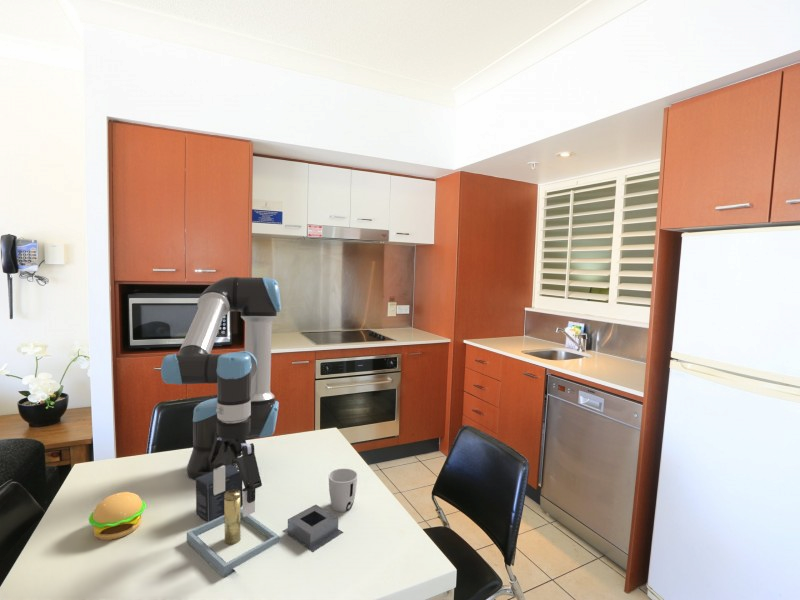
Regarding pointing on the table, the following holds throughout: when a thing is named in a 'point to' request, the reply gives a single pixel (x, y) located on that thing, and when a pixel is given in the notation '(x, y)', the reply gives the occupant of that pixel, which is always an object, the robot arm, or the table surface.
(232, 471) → the box
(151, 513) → the table surface
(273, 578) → the table surface
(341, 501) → the cup
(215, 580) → the table surface
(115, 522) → the hamburger
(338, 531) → the block
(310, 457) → the table surface
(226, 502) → the pin
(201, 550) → the tray
